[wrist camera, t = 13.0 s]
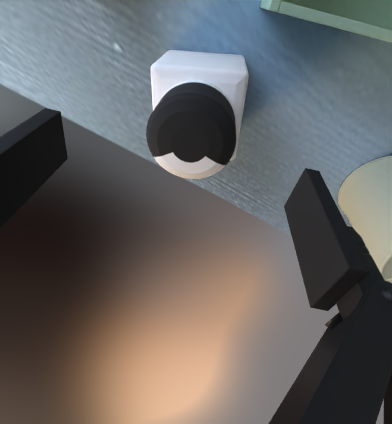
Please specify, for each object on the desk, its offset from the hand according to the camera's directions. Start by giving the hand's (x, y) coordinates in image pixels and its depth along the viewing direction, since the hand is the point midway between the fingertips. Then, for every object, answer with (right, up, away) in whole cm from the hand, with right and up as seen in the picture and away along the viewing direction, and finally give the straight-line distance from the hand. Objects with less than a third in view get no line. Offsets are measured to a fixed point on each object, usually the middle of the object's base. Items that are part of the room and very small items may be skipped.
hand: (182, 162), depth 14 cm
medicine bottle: (+1, +9, +12) cm, 15 cm away
